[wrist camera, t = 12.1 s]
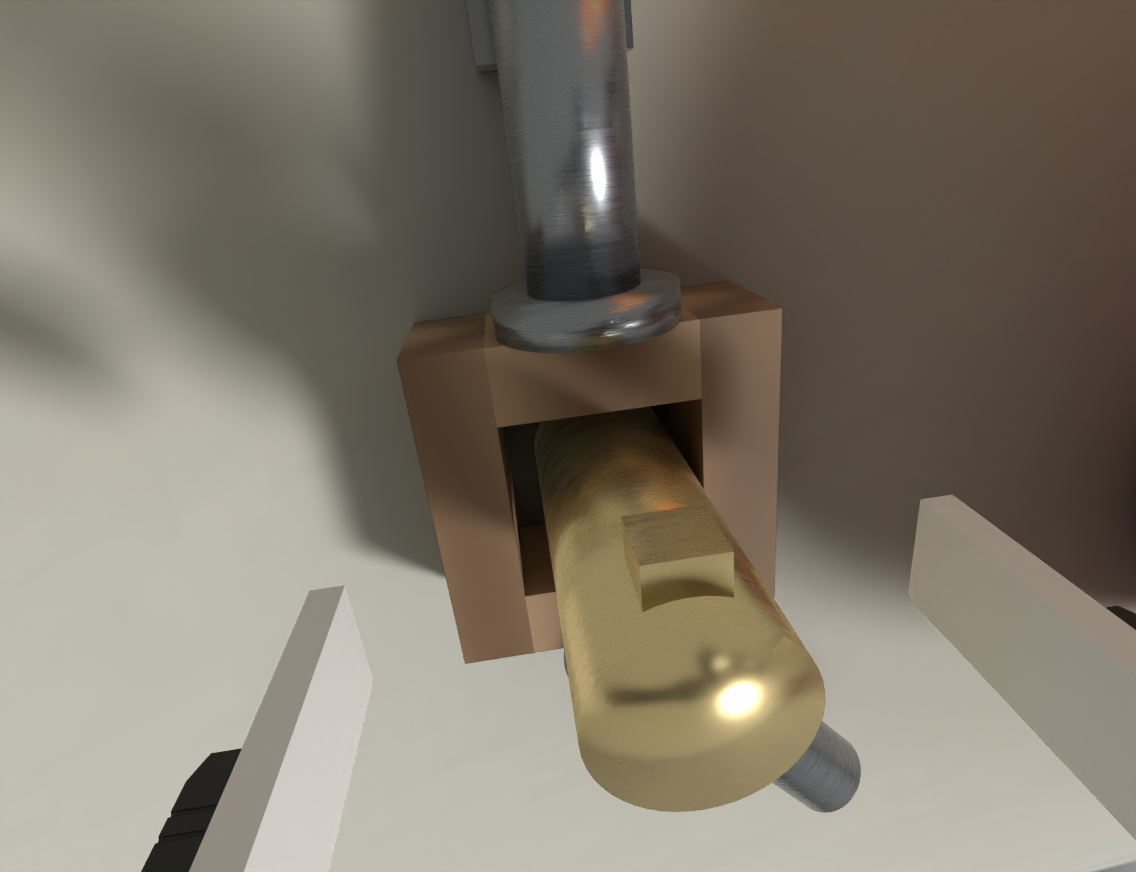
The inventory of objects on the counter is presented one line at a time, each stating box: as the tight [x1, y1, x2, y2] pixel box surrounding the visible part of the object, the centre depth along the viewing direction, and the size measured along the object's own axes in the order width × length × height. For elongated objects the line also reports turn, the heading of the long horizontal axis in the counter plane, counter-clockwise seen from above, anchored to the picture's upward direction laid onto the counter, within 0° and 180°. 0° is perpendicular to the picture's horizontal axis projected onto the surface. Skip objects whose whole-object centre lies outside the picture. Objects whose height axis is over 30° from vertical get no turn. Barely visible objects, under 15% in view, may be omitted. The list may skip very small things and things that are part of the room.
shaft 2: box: [564, 650, 861, 812], centre depth 24 cm, size 12×5×6 cm, turn 46°
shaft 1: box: [466, 0, 681, 353], centre depth 16 cm, size 10×5×6 cm, turn 6°
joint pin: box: [535, 406, 825, 812], centre depth 17 cm, size 4×6×12 cm
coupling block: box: [397, 281, 782, 664], centre depth 20 cm, size 10×10×4 cm
